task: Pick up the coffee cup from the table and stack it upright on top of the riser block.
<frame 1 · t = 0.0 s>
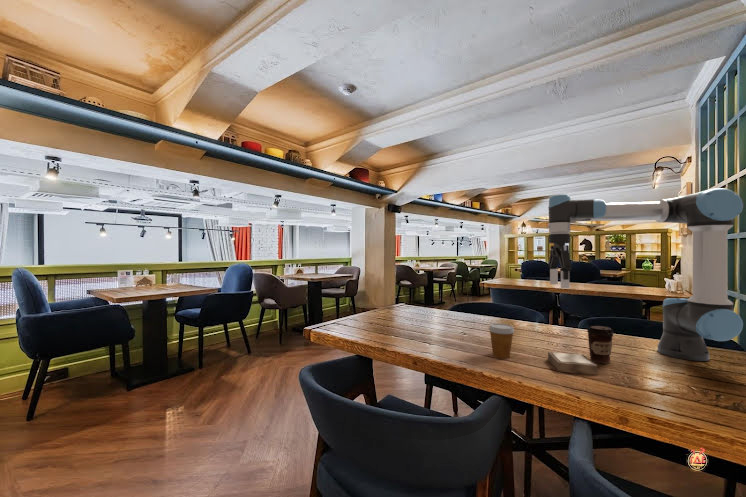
hand: (559, 286, 127), 28 cm above the table, fingers open, 13 cm apart
coffee cup: (600, 361, 121), on the table
disposable coffee cup: (501, 356, 126), on the table
riser: (571, 366, 115), on the table
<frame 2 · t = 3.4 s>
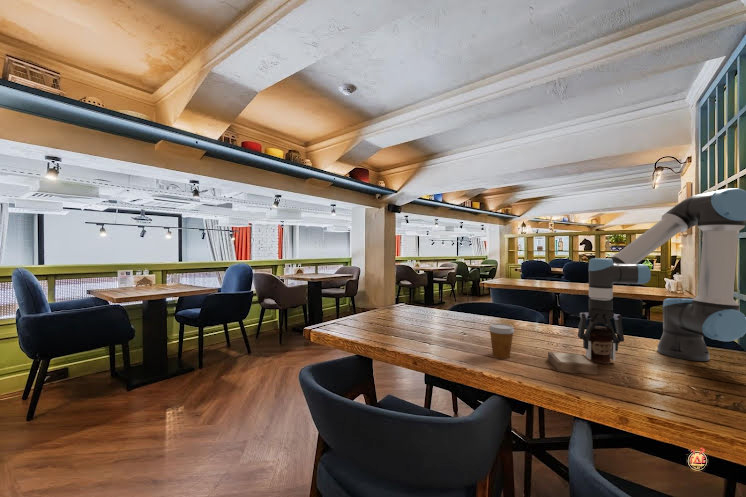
hand: (600, 358, 121), 1 cm above the table, fingers closed on coffee cup, 7 cm apart
coffee cup: (600, 361, 121), on the table, touching gripper
everything else where it was.
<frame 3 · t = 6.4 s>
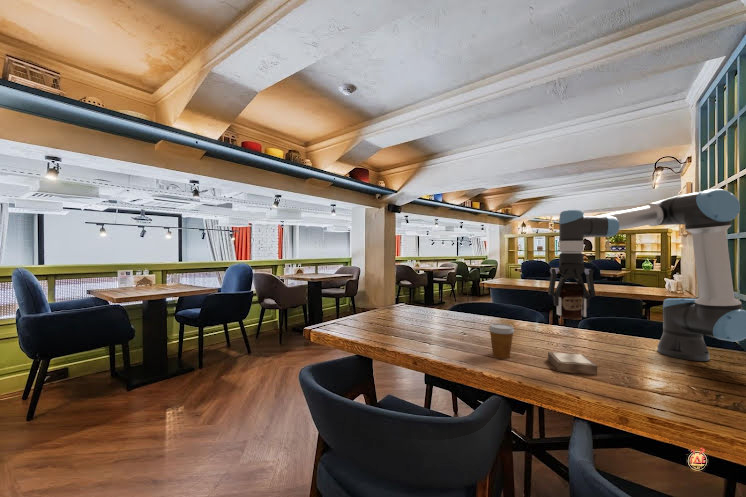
hand: (571, 315, 115), 19 cm above the table, fingers closed on coffee cup, 7 cm apart
coffee cup: (571, 319, 115), point 17 cm above the table, touching gripper
everything else where it was.
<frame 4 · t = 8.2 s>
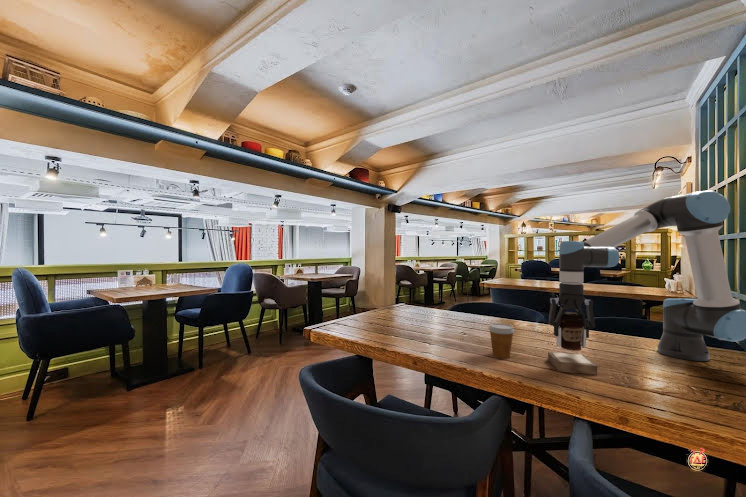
hand: (570, 345, 115), 8 cm above the table, fingers closed on coffee cup, 7 cm apart
coffee cup: (571, 349, 115), point 6 cm above the table, touching gripper
everything else where it was.
when the fingers open (5 cm above the table, at t = 9.6 s): coffee cup stays where it is, resting on riser.
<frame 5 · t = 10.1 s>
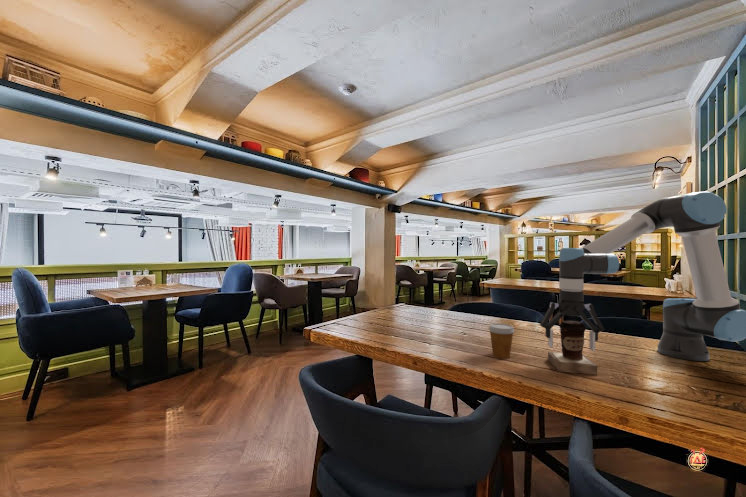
hand: (571, 348, 115), 7 cm above the table, fingers open, 13 cm apart
coffee cup: (572, 358, 115), point 3 cm above the table, touching riser
everything else where it was.
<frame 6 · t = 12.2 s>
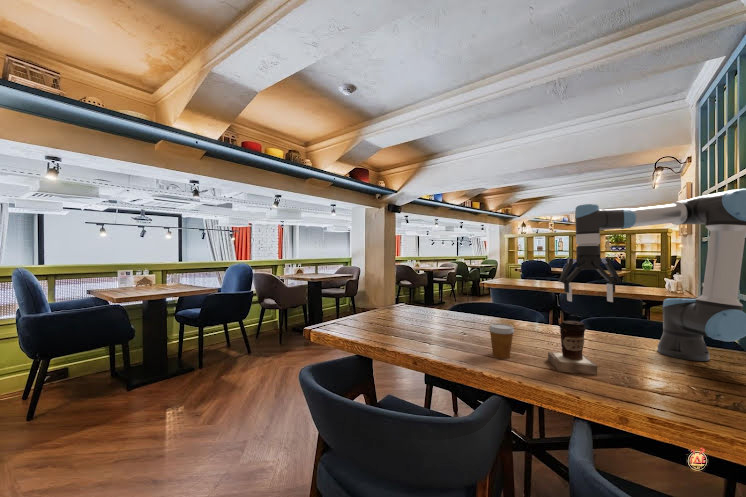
hand: (589, 301, 119), 23 cm above the table, fingers open, 13 cm apart
nothing on the table moved.
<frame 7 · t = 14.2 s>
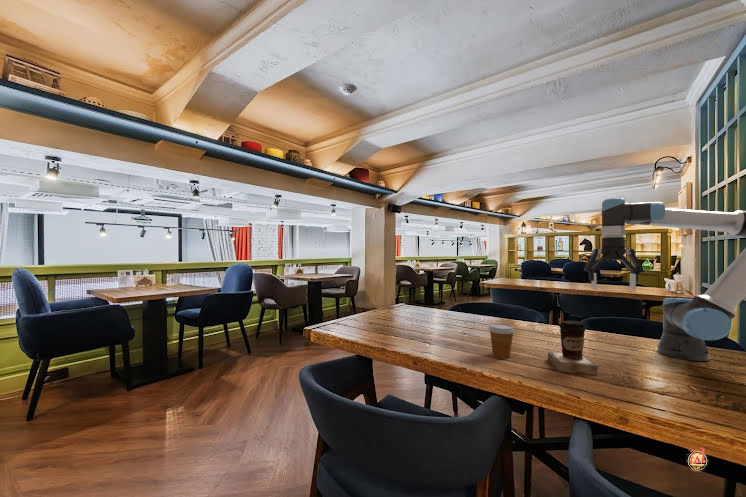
hand: (613, 289, 127), 27 cm above the table, fingers open, 13 cm apart
nothing on the table moved.
at the end: coffee cup inside the target area on the riser (0.5 cm from its centre), point 3.1 cm above the riser's base; coffee cup touching riser; coffee cup tilted 0° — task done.
